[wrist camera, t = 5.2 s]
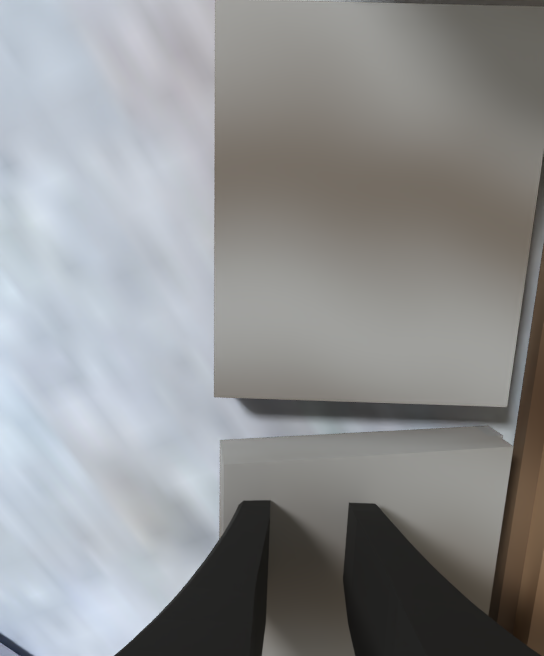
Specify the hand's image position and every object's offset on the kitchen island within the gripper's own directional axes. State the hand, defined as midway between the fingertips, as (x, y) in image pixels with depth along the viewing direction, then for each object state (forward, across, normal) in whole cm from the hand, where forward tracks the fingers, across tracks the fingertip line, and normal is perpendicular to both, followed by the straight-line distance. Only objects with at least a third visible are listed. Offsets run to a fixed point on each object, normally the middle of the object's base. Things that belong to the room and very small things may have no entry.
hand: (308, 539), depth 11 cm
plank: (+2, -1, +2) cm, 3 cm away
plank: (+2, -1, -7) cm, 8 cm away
